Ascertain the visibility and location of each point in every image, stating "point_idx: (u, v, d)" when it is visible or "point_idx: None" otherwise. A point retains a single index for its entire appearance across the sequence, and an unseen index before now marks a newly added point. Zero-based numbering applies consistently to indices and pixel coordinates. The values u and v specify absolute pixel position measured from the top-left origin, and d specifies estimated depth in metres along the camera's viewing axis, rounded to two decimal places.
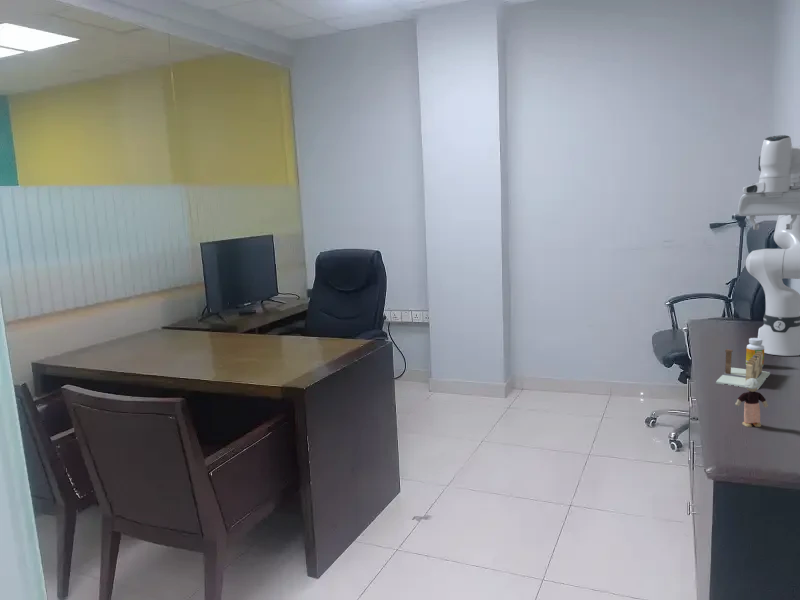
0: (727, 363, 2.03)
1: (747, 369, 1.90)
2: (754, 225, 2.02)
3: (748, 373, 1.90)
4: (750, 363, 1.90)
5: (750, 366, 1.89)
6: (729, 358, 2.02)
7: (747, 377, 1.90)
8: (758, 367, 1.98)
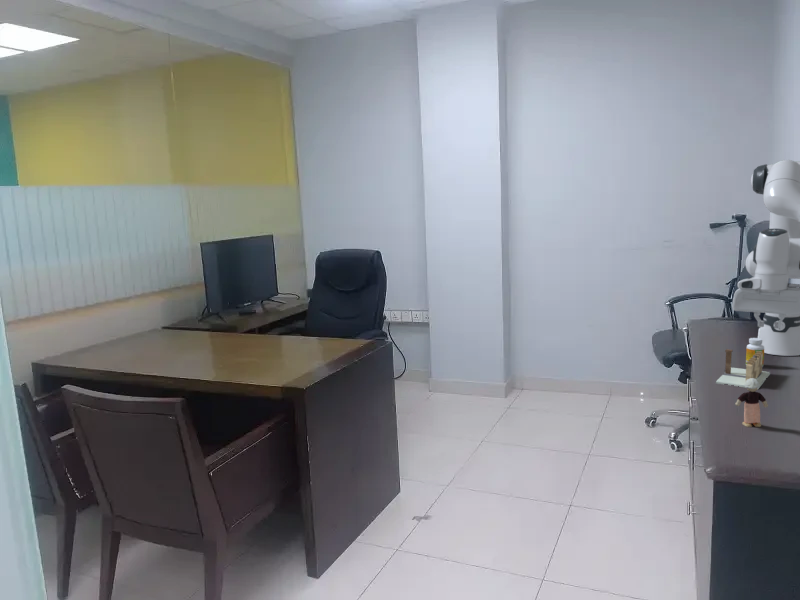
0: (727, 363, 2.03)
1: (747, 369, 1.90)
2: (759, 322, 1.87)
3: (748, 373, 1.90)
4: (750, 363, 1.90)
5: (750, 366, 1.89)
6: (729, 358, 2.02)
7: (747, 377, 1.90)
8: (758, 367, 1.98)
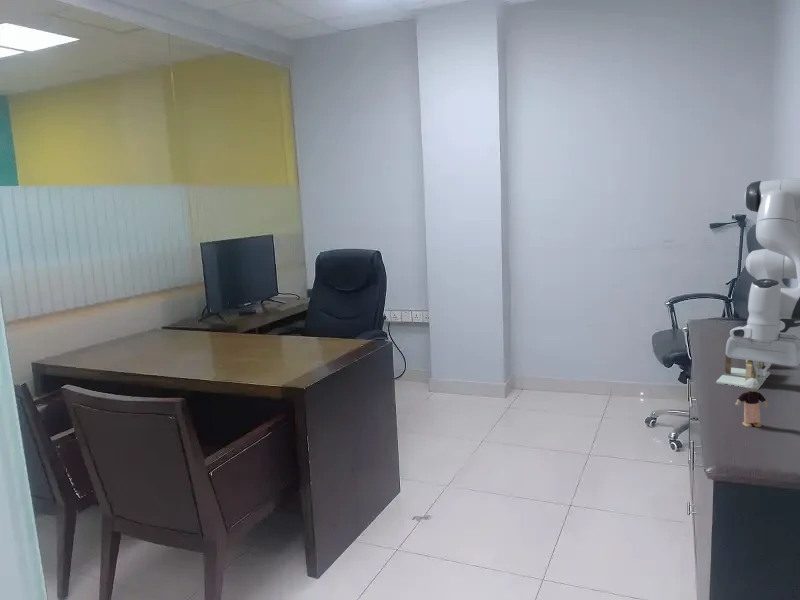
0: (727, 363, 2.03)
1: (747, 369, 1.90)
2: (757, 371, 1.90)
3: (748, 373, 1.90)
4: (750, 363, 1.90)
5: (750, 366, 1.89)
6: (729, 358, 2.02)
7: (747, 377, 1.91)
8: None
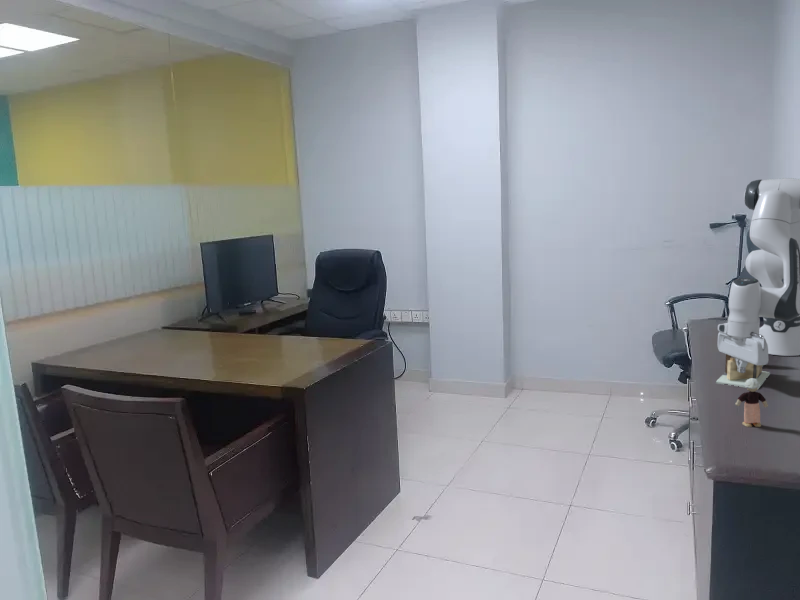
0: None
1: (728, 364, 1.96)
2: (738, 367, 1.94)
3: (728, 368, 1.96)
4: (731, 359, 1.95)
5: (730, 362, 1.95)
6: (729, 358, 2.02)
7: (728, 372, 1.96)
8: (758, 367, 1.98)
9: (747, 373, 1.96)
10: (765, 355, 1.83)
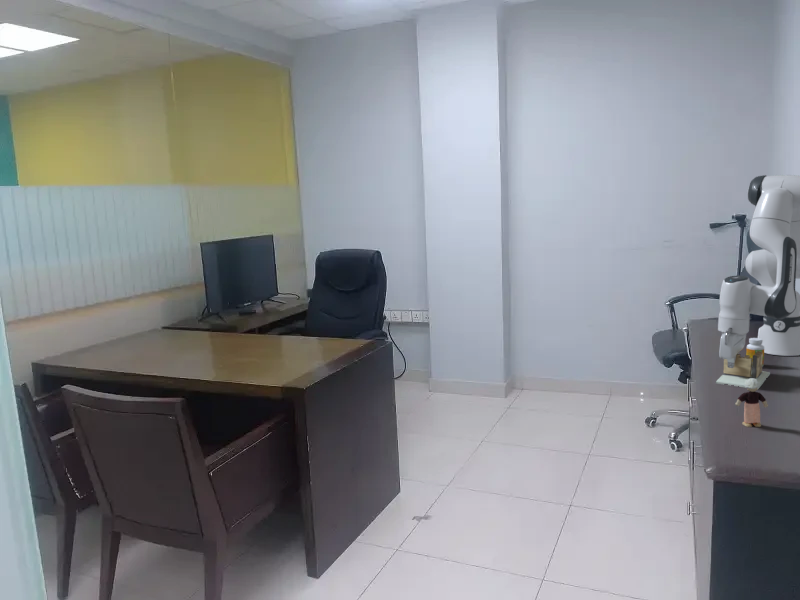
0: None
1: None
2: (728, 362, 2.00)
3: None
4: None
5: None
6: None
7: None
8: (758, 367, 1.98)
9: (743, 371, 1.99)
10: (727, 350, 1.90)
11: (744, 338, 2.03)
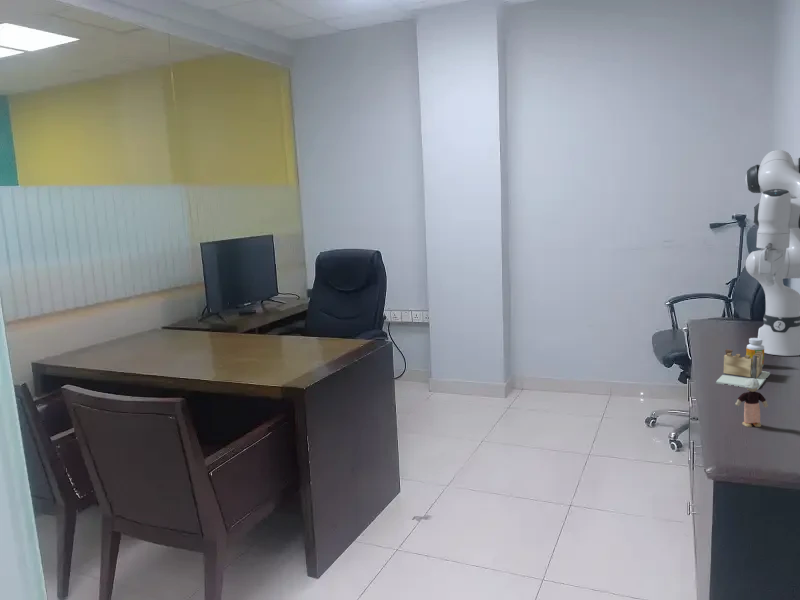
0: None
1: None
2: None
3: None
4: None
5: (724, 356, 2.02)
6: None
7: None
8: (758, 367, 1.98)
9: (743, 371, 1.99)
10: (767, 265, 1.84)
11: (784, 255, 1.96)
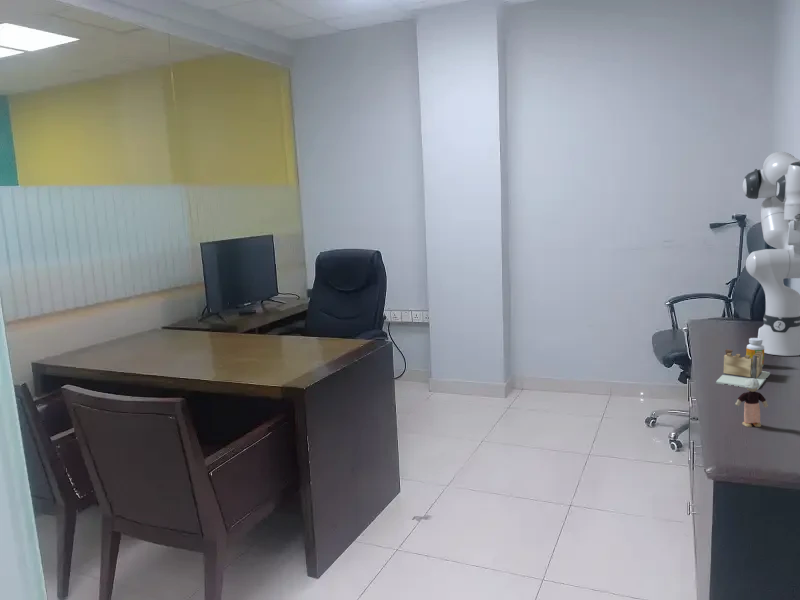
0: None
1: None
2: None
3: None
4: None
5: (724, 356, 2.02)
6: None
7: None
8: (758, 367, 1.98)
9: (743, 371, 1.99)
10: (797, 235, 1.84)
11: None
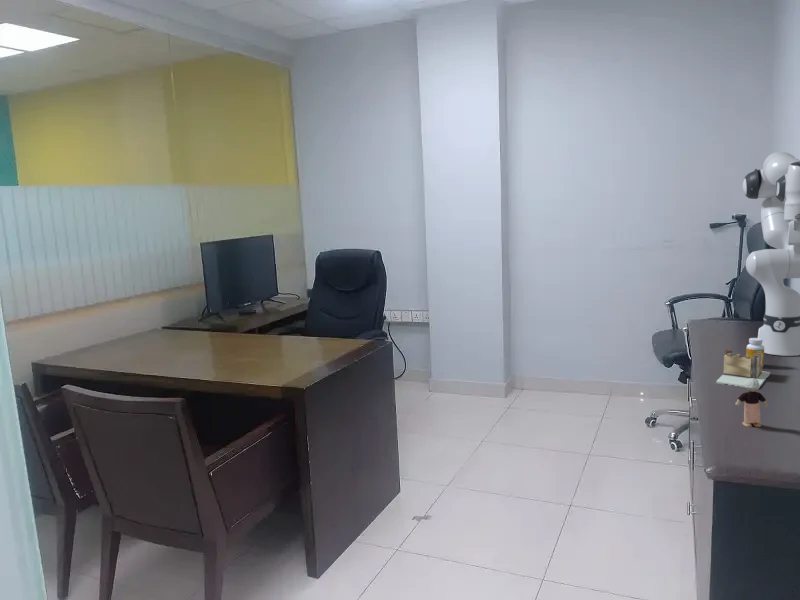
0: None
1: None
2: None
3: None
4: None
5: (724, 356, 2.02)
6: None
7: None
8: (758, 367, 1.98)
9: (743, 371, 1.99)
10: (797, 235, 1.84)
11: None
